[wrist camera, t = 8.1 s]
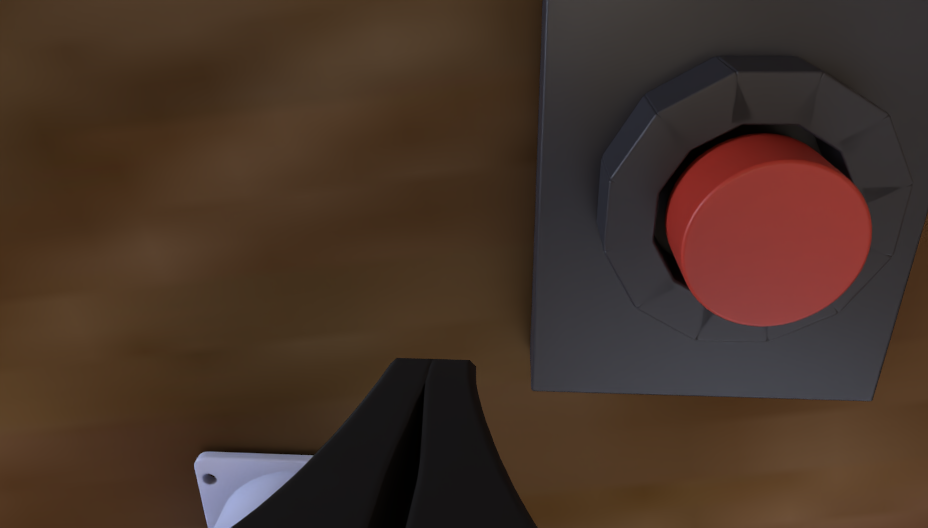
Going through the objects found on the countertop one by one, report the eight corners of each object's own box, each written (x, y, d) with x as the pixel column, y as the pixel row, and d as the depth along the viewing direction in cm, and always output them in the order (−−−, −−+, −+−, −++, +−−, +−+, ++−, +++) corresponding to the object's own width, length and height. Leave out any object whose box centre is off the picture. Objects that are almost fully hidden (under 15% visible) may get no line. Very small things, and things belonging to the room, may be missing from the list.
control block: (843, 360, 23) (902, 443, 20) (529, 351, 24) (532, 430, 20) (961, -91, 18) (1075, -89, 14) (545, -87, 18) (552, -84, 15)
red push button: (817, 287, 18) (850, 330, 17) (655, 284, 19) (670, 326, 17) (853, 132, 17) (894, 161, 15) (674, 130, 17) (693, 159, 15)
